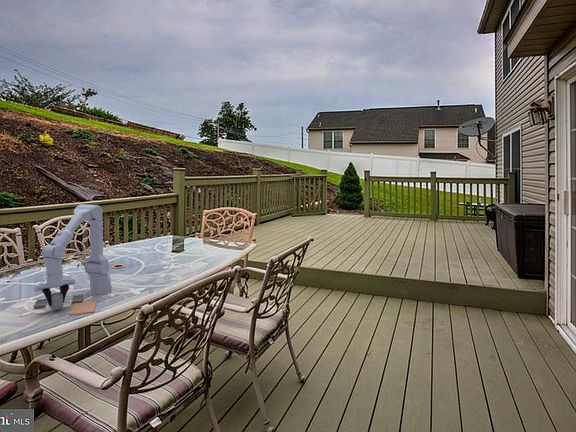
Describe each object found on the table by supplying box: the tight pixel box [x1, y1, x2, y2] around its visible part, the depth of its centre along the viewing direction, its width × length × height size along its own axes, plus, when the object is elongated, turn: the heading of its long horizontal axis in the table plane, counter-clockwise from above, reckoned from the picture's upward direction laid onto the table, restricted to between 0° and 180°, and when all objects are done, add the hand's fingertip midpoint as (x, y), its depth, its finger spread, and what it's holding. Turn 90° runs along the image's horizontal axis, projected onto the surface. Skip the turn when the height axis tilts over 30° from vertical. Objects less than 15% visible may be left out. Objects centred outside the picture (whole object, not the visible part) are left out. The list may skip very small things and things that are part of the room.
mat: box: [69, 300, 97, 317], centre depth 154 cm, size 9×13×1 cm
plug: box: [49, 291, 64, 311], centre depth 153 cm, size 4×8×6 cm, turn 48°
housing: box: [33, 294, 84, 310], centre depth 160 cm, size 18×8×2 cm, turn 116°
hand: (56, 303), depth 151 cm, fingers closed on plug, 4 cm apart
